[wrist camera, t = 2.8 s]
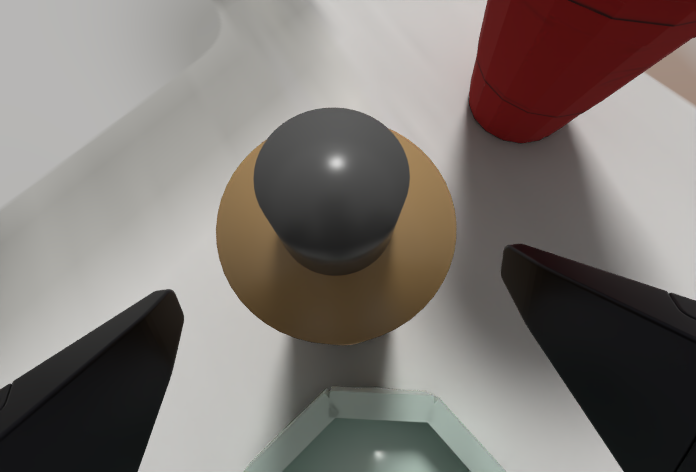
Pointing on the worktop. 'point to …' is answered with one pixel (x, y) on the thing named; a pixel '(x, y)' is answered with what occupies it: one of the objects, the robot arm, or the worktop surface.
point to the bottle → (336, 228)
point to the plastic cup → (566, 58)
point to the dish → (375, 436)
